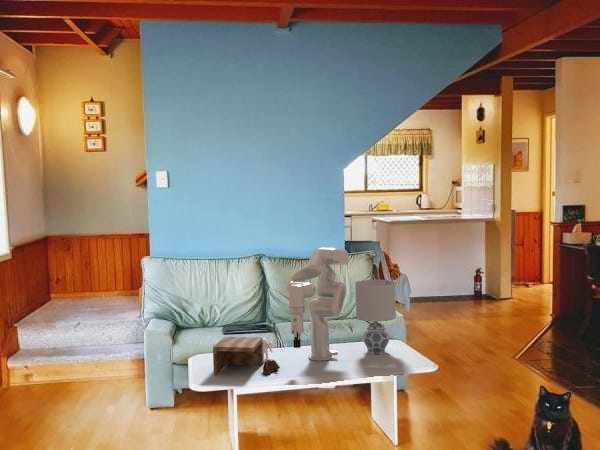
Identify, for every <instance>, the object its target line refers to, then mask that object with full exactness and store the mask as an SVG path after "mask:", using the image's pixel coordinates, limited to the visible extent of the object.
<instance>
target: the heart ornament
mask: <svg viewBox="0 0 600 450" xmlns="http://www.w3.org/2000/svg"><path fill="white" fill-rule="evenodd" d="M280 368H281V366H279V363H277V361H276V360H275V359H270V358H269V360H266V361H265V362H264V363H263V367H262V371H263V372H262V373H263V375H265V376H271V374H272V372H274V371H277V370H279V369H280Z"/></svg>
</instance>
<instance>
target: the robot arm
mask: <svg viewBox="0 0 600 450" xmlns="http://www.w3.org/2000/svg"><path fill="white" fill-rule="evenodd" d="M348 262H349V252H348V251H347V250H346V249H344V248H336V247H318V248H316V249H314V250H313V252H312V254H311V256H310V259H309V260H308V263H306V266H304V267H302V268H300V269H299V270H297V271H296V272H294V274H292V276H291V277H290V279H289V280H288V283H287V285H286V293H287V295H288V313H289V314H290V322H291V323H290V331H291V335H293V348H294V349H300V348H301V341H302V340H301V335H302V334H303V333H304V330H305V326H304V315H303V314H305V299H308V298H309V299H310V298H312V297H314V295H315V293H316V295H317V297H316V298H312V299H311V300H310V301H309V303H308V311H309V318H310V339H311V340H310V342H311V343H310V345H311V346H310V347H311V350H310V351H311V353H310V354H308V359H310V360H312V361H316V362H317V361H318V362H322V361H329V360H332V358H333V356H339V352H338V350H337V351H336V350H332V349H331V347H330V325H329V321H328V320H327V318H338V317H340V316H341V315H342V313H341V312H342V311H343V306H344V302H345V298H346V296H347V294H346V293H347V287H346V284H345V283H344V282H342V281H337V280H336V279H337V273H336V271H335V269H334V268H333V265H335V266H336V265H337V266H344V265H346V264H347V263H348ZM318 277H319V280H318V282H317V286H315V285H314V284H313V283H312V282H305V281H308V280H312V279H316V278H318Z"/></svg>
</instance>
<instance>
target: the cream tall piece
mask: <svg viewBox="0 0 600 450" xmlns="http://www.w3.org/2000/svg"><path fill="white" fill-rule="evenodd" d="M269 338H270V336H269V335H268V336H267V337H262V342H263V361H265V360H266V361H267V360H270V358H269V352H270V353H271V354H272V353H273V349H272V347H273V346H274V343H273V341H269V340H268V339H269ZM268 349H269V351H268Z"/></svg>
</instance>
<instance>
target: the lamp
mask: <svg viewBox="0 0 600 450" xmlns="http://www.w3.org/2000/svg"><path fill="white" fill-rule="evenodd" d="M354 285H355V287H354V288H355V296H354V297H355V318H356V319H357V320H360V321H365V322H371V323H369V324H368V327H366V331H365V332H364V334H363V336H362V339H363V343H364V345H365V347H366V350H367V351H366V352H367V354H370V355H383V354H385V353H386V348H387V346H388V344H389V342H390V335H389V333H388V332H387V331H386V328H385V326H384V325H383V324H382V323H381V322H388V321H392V320H396V317H397V316H396V314H397V310H396V309H397V308H396V307H397V306H396V305H397V303H396V300H397V298H396V297H397V296H396V295H397V293H396V282H395V281H394V280H388V279H364V280H358V281H355V283H354Z"/></svg>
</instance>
